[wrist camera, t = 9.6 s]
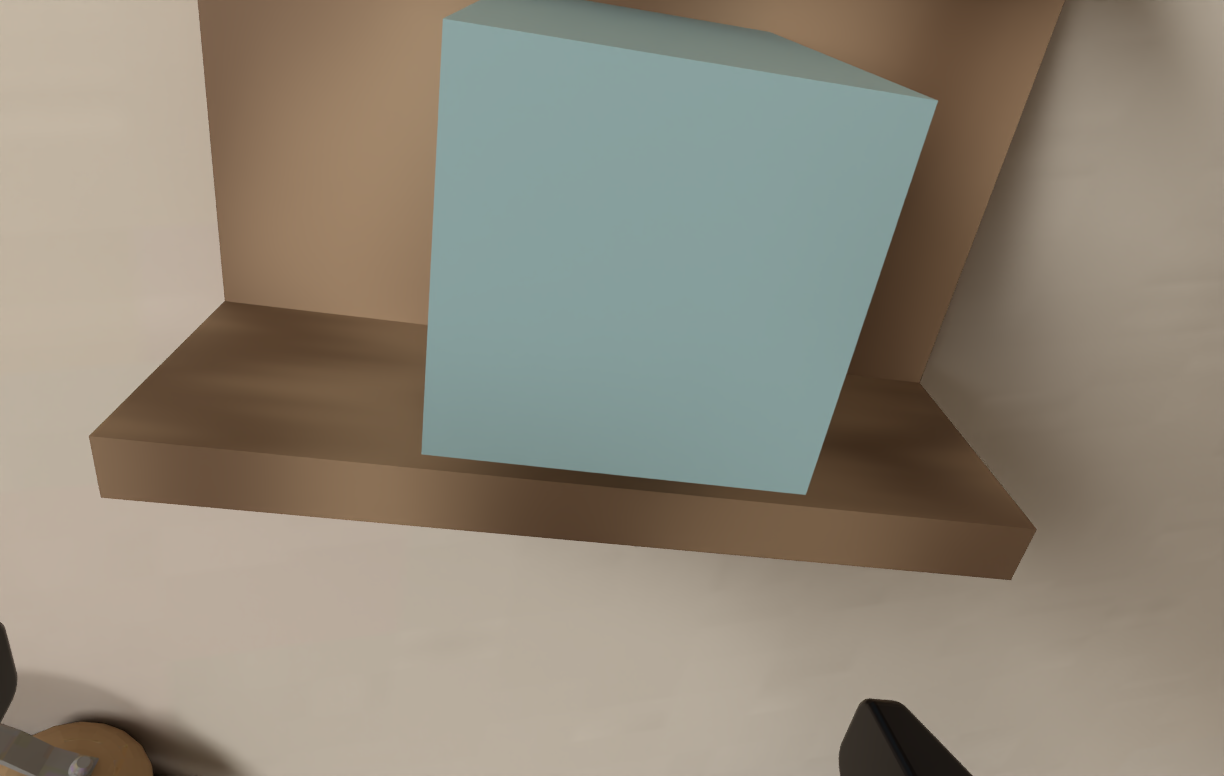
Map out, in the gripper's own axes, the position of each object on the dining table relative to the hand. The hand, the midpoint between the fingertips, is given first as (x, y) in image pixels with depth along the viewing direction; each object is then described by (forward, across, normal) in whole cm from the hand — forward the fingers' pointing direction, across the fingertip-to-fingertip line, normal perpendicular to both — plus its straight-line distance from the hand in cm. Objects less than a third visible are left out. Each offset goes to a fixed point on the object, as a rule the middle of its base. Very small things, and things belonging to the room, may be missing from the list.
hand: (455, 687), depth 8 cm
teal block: (+10, -2, -4) cm, 11 cm away
